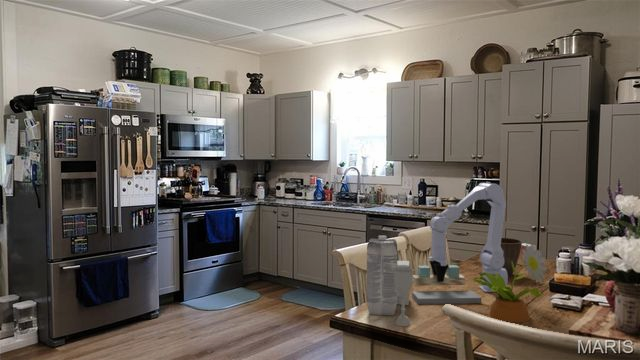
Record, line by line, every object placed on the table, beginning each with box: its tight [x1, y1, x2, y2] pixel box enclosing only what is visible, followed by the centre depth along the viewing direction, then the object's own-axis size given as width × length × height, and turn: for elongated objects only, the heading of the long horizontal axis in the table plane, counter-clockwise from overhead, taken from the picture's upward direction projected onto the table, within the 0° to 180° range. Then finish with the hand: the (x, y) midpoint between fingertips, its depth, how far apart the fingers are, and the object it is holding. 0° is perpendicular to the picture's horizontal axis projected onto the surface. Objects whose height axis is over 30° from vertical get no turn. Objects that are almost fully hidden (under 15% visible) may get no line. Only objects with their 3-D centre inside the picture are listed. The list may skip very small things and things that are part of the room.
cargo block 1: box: [417, 265, 431, 278], centre depth 201 cm, size 4×4×4 cm
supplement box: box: [397, 260, 411, 306], centre depth 189 cm, size 9×9×15 cm
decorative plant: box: [473, 243, 548, 323], centre depth 172 cm, size 27×24×25 cm
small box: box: [517, 242, 537, 268], centre depth 252 cm, size 8×6×10 cm
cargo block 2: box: [445, 264, 460, 277], centre depth 202 cm, size 4×4×4 cm
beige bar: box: [412, 274, 466, 287], centre depth 202 cm, size 20×5×3 cm, turn 92°
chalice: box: [393, 267, 415, 327], centre depth 164 cm, size 7×7×18 cm
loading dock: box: [411, 290, 482, 305], centre depth 192 cm, size 24×10×2 cm, turn 92°
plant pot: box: [501, 237, 523, 277], centre depth 232 cm, size 15×15×16 cm
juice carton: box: [366, 235, 398, 317], centre depth 175 cm, size 9×10×27 cm
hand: (438, 279), depth 202 cm, fingers closed on beige bar, 5 cm apart
